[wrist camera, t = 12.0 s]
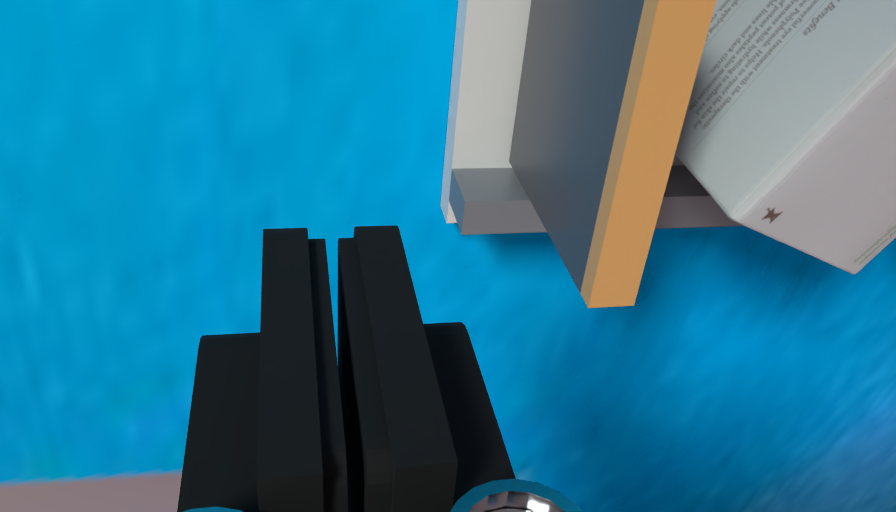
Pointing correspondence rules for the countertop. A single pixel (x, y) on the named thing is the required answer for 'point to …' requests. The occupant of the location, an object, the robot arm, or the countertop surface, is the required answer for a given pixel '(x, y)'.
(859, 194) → the small box
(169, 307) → the countertop surface
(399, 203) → the countertop surface
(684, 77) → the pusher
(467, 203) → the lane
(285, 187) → the countertop surface
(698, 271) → the countertop surface
